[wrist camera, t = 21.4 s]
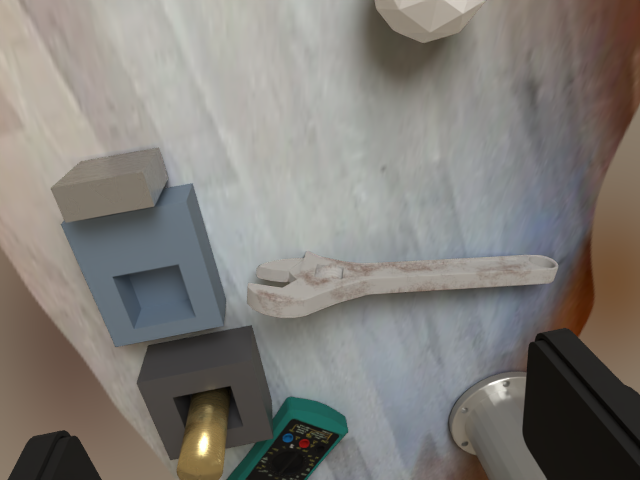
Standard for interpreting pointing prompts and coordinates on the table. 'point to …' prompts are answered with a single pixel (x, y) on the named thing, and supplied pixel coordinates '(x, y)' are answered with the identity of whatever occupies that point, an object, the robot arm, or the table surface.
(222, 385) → the grey slotted block
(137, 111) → the table surface
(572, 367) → the robot arm
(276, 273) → the wrench
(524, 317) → the table surface
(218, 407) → the peg
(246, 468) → the digital multimeter
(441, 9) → the ball
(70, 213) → the plug block
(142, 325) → the socket block
